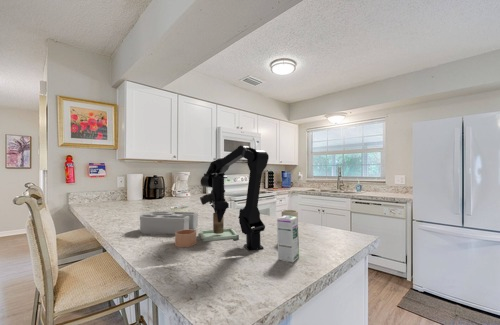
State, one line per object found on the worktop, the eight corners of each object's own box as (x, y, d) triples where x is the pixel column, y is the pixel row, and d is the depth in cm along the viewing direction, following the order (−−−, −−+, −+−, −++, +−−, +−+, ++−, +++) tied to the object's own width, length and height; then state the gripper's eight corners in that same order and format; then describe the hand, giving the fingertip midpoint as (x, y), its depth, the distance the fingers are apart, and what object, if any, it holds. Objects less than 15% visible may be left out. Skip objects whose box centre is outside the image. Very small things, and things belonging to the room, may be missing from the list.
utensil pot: (197, 247, 93) (197, 233, 93) (174, 249, 90) (174, 235, 90) (195, 241, 101) (195, 228, 102) (174, 243, 99) (174, 230, 99)
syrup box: (293, 263, 76) (292, 219, 77) (277, 259, 79) (276, 217, 80) (299, 257, 81) (298, 216, 82) (283, 254, 84) (283, 214, 85)
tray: (238, 239, 103) (238, 235, 103) (202, 243, 98) (202, 238, 98) (231, 231, 116) (231, 227, 116) (199, 234, 111) (199, 230, 111)
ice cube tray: (183, 236, 109) (183, 218, 110) (132, 234, 115) (132, 216, 115) (198, 228, 125) (198, 212, 126) (152, 226, 131) (152, 211, 131)
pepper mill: (224, 233, 105) (224, 210, 106) (214, 234, 104) (214, 211, 104) (222, 230, 110) (222, 208, 110) (212, 231, 109) (212, 209, 109)
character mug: (297, 245, 94) (296, 213, 95) (280, 244, 96) (279, 212, 97) (299, 237, 105) (298, 209, 105) (283, 236, 107) (283, 208, 107)
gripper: (199, 187, 114) (199, 218, 114) (203, 189, 96) (203, 227, 96) (221, 186, 118) (221, 216, 117) (228, 189, 100) (229, 225, 99)
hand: (218, 221), depth 107 cm, fingers closed on pepper mill, 5 cm apart
